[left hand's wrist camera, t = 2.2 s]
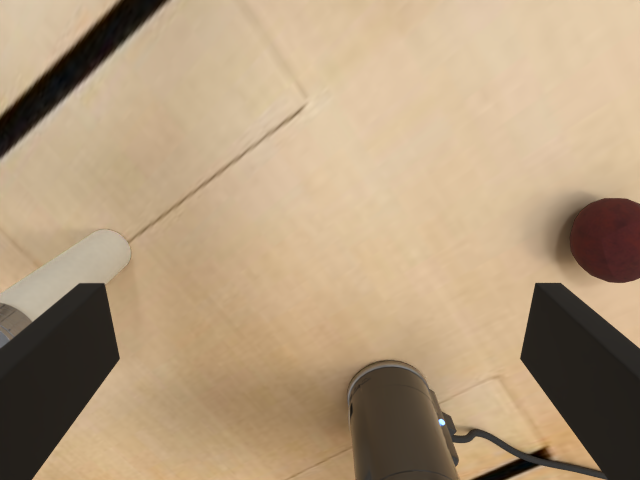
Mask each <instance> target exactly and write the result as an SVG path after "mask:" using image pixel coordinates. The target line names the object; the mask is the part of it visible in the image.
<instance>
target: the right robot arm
mask: <svg viewBox="0 0 640 480" xmlns="http://www.w3.org/2000/svg"><path fill="white" fill-rule="evenodd" d="M347 399H348V407H349V421H348V422H349V429H350V424H351V435H352V446H353V457H354V468H355V479H356V480H460V478H459V476H458V473H457V470H456V466H457V464H458V462H459V459H458V455H457V452H456V450H455V447H454V444H453V442H455V443H467V442H470V441H471V440H472V439H473V438H474V437H475V436H478V437H483V438H486V439H488V440H490V441H492V442H493V443H495V444H496V445H498V446H500V447H501V448H503V449H504V450H506V451H508V452H509V453H511V454H513V455H515V456H517V457H519V458H521V459H523V460H526V461H529V462H532V463H535V464H539V465H543V466H547V467H552V468H557V469H563V470H568V471H573V472H577V473H582V474H586V475H590V476H594V477H598V478H602V479H606V480H608V479H607V477H606V476H605V475H604V473H603V472H600V471H596V470H592V469H588V468H584V467H579V466H575V465H571V464H566V463H560V462H555V461H550V460H545V459H541V458H537V457H534V456H531V455H528V454H525V453H522V452H520V451H518V450H516V449H514V448H513V447H511V446H509V445H508V444H506V443H505V442H503V441H502V440H500V439H498V438H497V437H495V436H493V435H491V434H489V433H487V432H485V431H482V430H476V429H475V430H472V431H470V432H469V433H468V434H467V435H465V436H457V435H454V434H455V433H456V429H455V426H454V424H453V421H452V418H451V416H449V415H447V414H445V413H443V412H442V411H441V409H440V406H439V404H438V401H437V398H436V396H435V393H434V392H433V391H431V390H430V389H429V388H428V385H427V382H426V380H425V378H424V376H423V375H422V374H421V373H420V372H419V371H418V370H417V369H416V368H414V367H412V366H410V365H408V364H406V363H402V362H398V361H383V362H378V363H374V364H372V365H369V366H367V367H365V368H364V369H362V370H361V371H360V372H358V373H357V374H356V375H355V377H354V378H353V379H352V381H351V383H350V385H349V388H348V392H347Z"/></svg>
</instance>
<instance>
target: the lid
mask: <svg viewBox="0 0 640 480" xmlns="http://www.w3.org/2000/svg"><path fill="white" fill-rule="evenodd" d="M31 323H32V321H31V320H30V319H29V318H28V317H27V316H26V315H25V314H24V313H22V312H21V311H20V310H18V309H16V308H14V307H12V306H10V305H7V304H4V303H0V348H2V347H3V346H4V345H5V344H6V343H8V342H9V341H10V340H11V339H12V338H14V337H15V336H16V335H17V334H18V333H20V332H21V331H22V330H23V329H25V328H26V327H27V326H28V325H29V324H31Z"/></svg>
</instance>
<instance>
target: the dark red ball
mask: <svg viewBox="0 0 640 480" xmlns="http://www.w3.org/2000/svg"><path fill="white" fill-rule="evenodd" d="M570 246H571V252H572V254H573V256H574V258H575V259H576V261H577V262H578V264H579V265H580V266H581V267H582V268H583V269H584V270H585V271H587V272H588V273H589V274H590V275H592V276H594V277H597V278H599V279H602V280H605V281H607V282H614V283H625V282H629V281H634V280H636V279H639V278H640V204H639V203H636V202H634V201H631V200H628V199H622V198H604V199H601V200H598V201H596V202H593V203H590V204H589V205H587V206H586V207H585V208H584V209H583V210H581V211H580V213H579V214H578V216H577V217H576V219H575V220H574V224H573V227H572V231H571V235H570Z"/></svg>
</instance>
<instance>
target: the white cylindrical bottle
mask: <svg viewBox="0 0 640 480" xmlns="http://www.w3.org/2000/svg"><path fill="white" fill-rule="evenodd" d="M130 258H131V249H130V246H129V244H128V242H127V241H126V239H125V238H124V237H123V236H122V235H120V234H119V233H117V232H115V231H112V230H107V229H102V230H97V231H95V232H93V233H92V234H90V235H89V236H87V237H86V238H84V239H83V240H81V241H80V242H78V243H76V244H75V245H73V246H72V247H70V248H69V249H67V250H66V251H64V252H63V253H61V254H60V255H58V256H57V257H55V258H54V259H52V260H51V261H49V262H48V263H46V264H44V265H43V266H41V267H40V268H38V269H37V270H35V271H34V272H32V273H31V274H29V275H28V276H26V277H25V278H23V279H22V280H20V281H19V282H17V283H16V284H14V285H13V286H11V287H9V288H8V289H6V290H5V291H3V292H2V293H0V303H4V304H7V305H10V306H12V307H14V308H16V309H18V310H20V311H21V312H22V313H24V314H25V315H26V316H27V317H28V318H29V319H30V320H31V321H32V322H33V321H34V320H35V319H37V318H38V317H39V316H40V315H41V314H43V313H44V312H45V311H46V310H47V309H49V308H50V307H51V306H52V305H53V304H55V303H56V302H57V301H58V300H60V299H61V298H62V297H63V296H64V295H66V294H67V293H68V292H69V291H70V290H72V289H73V288H74V287H75V286H76V285H78V284H79V283H105V285H106V284H107V283H108V282H109V281H110V280H111V279H112V278H113V277H114V276H116V275H117V274H118V273H119V272H120V271H121V270H122V269H123V268H124V267H125V266H126V265H127V264H128V263H129V261H130Z"/></svg>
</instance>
